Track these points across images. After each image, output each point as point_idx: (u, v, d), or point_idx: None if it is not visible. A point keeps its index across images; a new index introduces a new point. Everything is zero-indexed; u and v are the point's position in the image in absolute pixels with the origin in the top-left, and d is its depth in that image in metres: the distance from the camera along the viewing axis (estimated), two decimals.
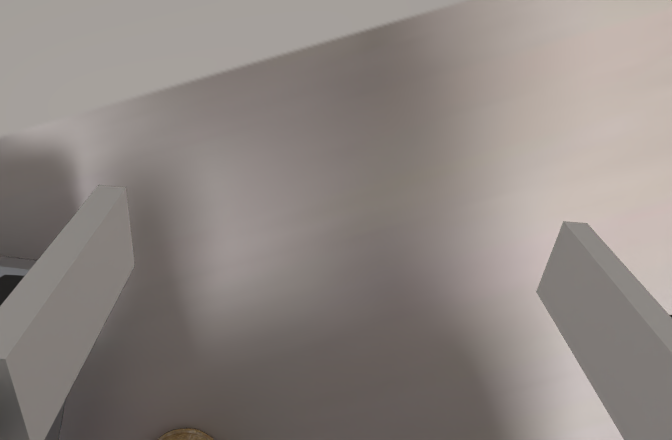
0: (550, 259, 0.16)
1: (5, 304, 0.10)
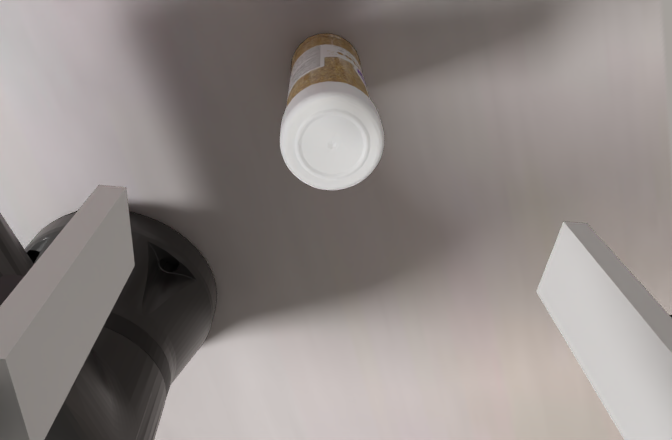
0: (550, 259, 0.16)
1: (5, 304, 0.10)
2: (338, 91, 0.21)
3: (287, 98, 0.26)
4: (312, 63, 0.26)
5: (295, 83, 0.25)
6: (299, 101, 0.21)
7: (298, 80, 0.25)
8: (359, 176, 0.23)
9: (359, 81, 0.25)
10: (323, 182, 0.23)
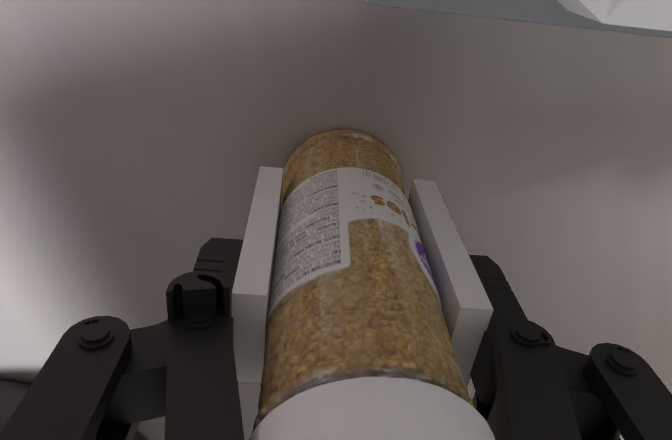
0: None
1: (242, 256, 0.12)
2: None
3: (266, 322, 0.12)
4: (322, 241, 0.12)
5: (284, 297, 0.11)
6: None
7: (291, 293, 0.11)
8: None
9: (430, 302, 0.11)
10: None
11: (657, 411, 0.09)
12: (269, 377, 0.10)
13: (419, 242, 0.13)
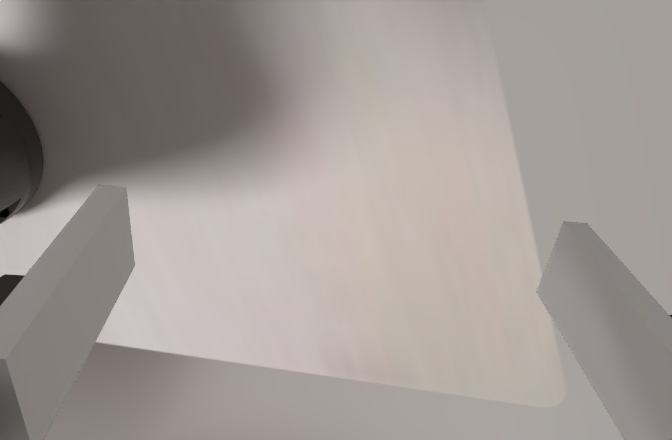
0: (550, 259, 0.16)
1: (5, 304, 0.10)
2: None
3: None
4: None
5: None
6: None
7: None
8: None
9: None
10: None
11: None
12: None
13: None
